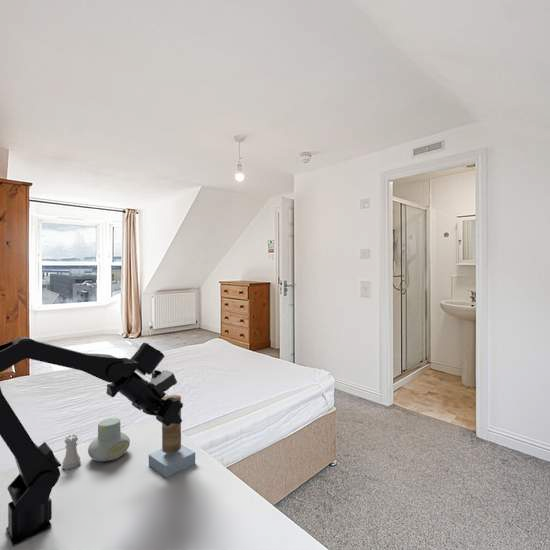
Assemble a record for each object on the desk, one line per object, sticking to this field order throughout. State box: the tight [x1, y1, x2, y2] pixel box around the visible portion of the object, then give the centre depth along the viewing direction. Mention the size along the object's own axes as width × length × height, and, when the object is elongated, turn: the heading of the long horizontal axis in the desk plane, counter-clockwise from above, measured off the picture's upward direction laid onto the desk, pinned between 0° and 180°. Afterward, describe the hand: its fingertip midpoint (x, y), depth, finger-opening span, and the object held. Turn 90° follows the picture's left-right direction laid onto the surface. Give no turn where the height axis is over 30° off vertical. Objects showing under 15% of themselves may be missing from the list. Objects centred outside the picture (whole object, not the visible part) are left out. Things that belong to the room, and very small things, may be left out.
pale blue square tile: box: [148, 444, 196, 479], centre depth 92 cm, size 9×9×3 cm
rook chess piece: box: [61, 434, 82, 471], centre depth 92 cm, size 4×4×8 cm
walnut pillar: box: [161, 394, 182, 453], centre depth 92 cm, size 5×5×14 cm
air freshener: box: [87, 417, 131, 462], centre depth 97 cm, size 11×8×10 cm
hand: (176, 419), depth 93 cm, fingers closed on walnut pillar, 5 cm apart
